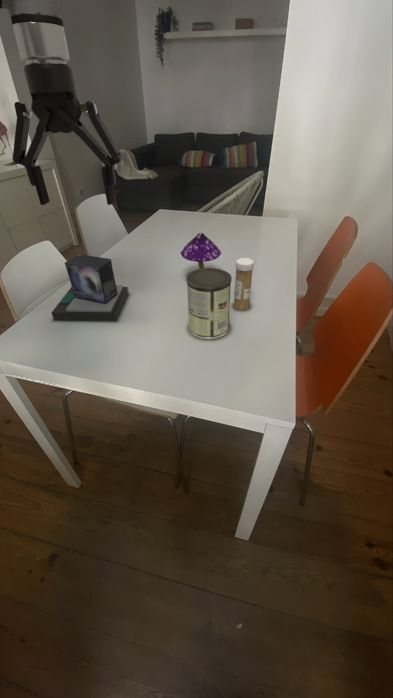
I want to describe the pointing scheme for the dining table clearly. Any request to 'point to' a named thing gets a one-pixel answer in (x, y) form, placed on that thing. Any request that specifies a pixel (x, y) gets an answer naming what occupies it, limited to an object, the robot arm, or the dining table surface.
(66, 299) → the scale
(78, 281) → the small box
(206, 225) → the dining table surface
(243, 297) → the sprinkles bottle
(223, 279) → the coffee can
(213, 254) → the decorative mushroom
